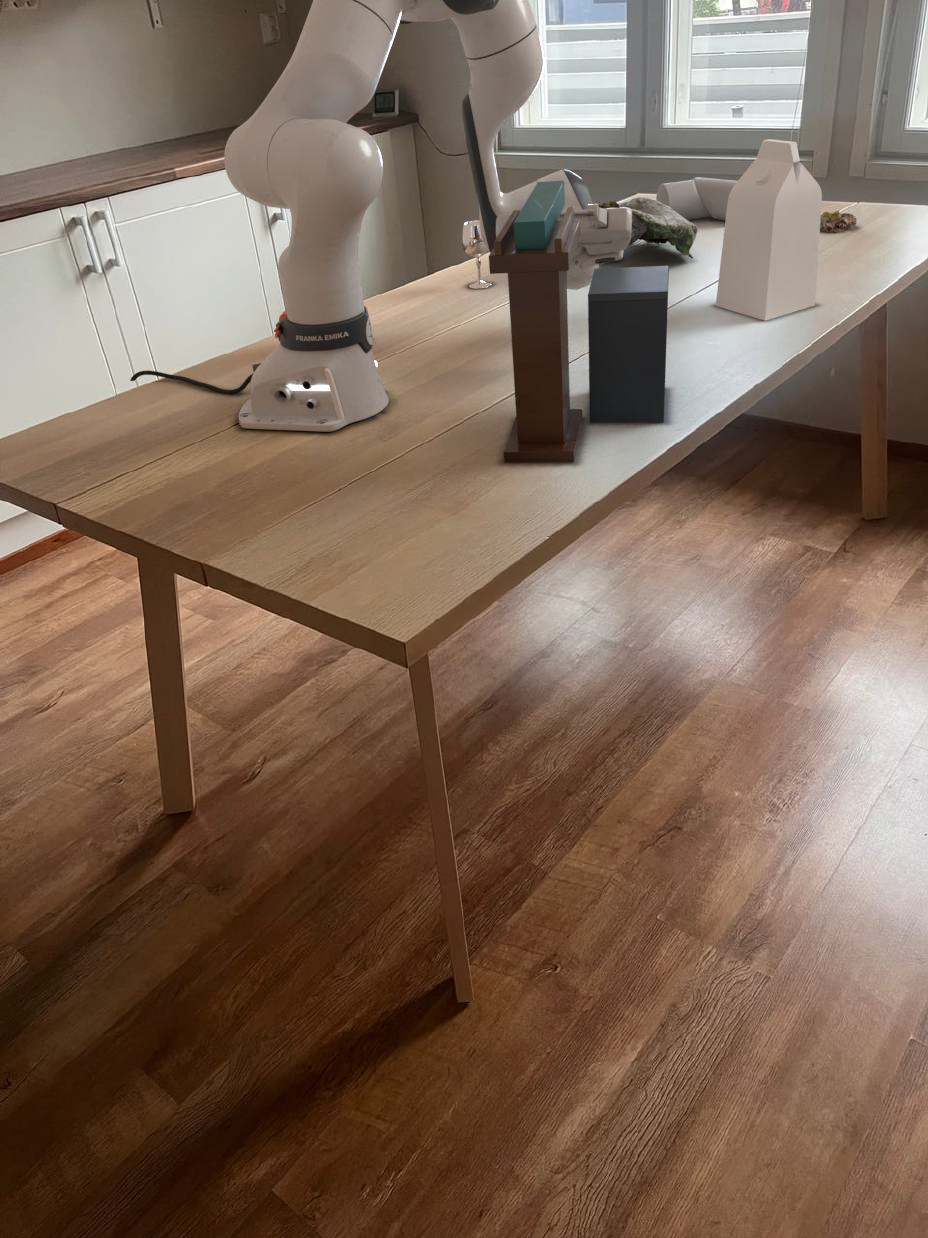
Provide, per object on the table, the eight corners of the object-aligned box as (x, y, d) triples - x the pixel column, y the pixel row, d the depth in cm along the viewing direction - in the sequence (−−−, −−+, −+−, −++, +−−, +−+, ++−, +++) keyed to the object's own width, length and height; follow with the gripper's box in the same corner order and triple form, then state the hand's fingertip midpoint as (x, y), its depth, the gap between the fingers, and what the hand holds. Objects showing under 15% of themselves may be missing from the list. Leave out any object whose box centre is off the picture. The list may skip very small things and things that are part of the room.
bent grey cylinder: (732, 200, 230) (652, 211, 228) (739, 155, 222) (657, 166, 220) (762, 232, 218) (678, 244, 216) (770, 185, 210) (684, 197, 208)
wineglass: (463, 289, 191) (457, 226, 184) (469, 281, 195) (464, 219, 189) (490, 289, 190) (486, 225, 183) (496, 281, 194) (492, 218, 187)
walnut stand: (519, 416, 135) (508, 210, 120) (583, 415, 133) (579, 206, 118) (503, 465, 122) (487, 241, 107) (573, 465, 120) (567, 237, 105)
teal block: (538, 206, 127) (537, 181, 125) (564, 204, 126) (564, 180, 125) (515, 250, 109) (513, 222, 107) (545, 248, 108) (544, 220, 106)
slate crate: (595, 390, 141) (594, 268, 131) (664, 389, 139) (668, 265, 129) (589, 423, 131) (587, 293, 121) (663, 422, 129) (668, 291, 119)
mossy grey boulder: (535, 241, 188) (549, 159, 184) (569, 266, 216) (582, 195, 212) (682, 259, 180) (700, 174, 176) (698, 283, 207) (713, 210, 204)
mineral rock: (861, 211, 206) (856, 209, 199) (858, 233, 207) (853, 231, 200) (809, 212, 210) (802, 210, 204) (807, 234, 212) (800, 232, 205)
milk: (815, 305, 164) (835, 138, 149) (765, 320, 160) (780, 150, 145) (764, 291, 173) (778, 132, 158) (715, 305, 169) (725, 143, 154)
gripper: (502, 223, 151) (487, 192, 137) (633, 217, 147) (631, 184, 133) (502, 264, 151) (486, 237, 138) (632, 259, 147) (630, 230, 134)
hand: (559, 211), depth 136 cm, fingers open, 8 cm apart
